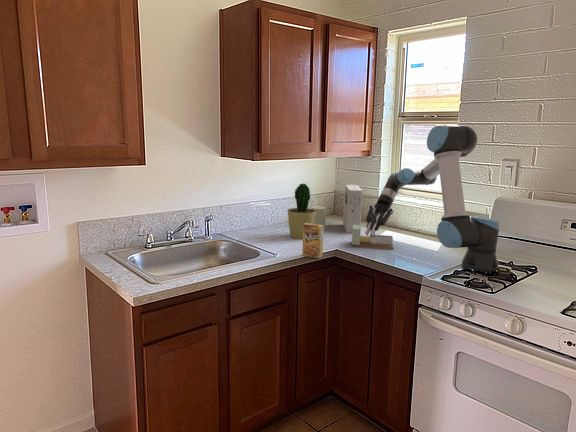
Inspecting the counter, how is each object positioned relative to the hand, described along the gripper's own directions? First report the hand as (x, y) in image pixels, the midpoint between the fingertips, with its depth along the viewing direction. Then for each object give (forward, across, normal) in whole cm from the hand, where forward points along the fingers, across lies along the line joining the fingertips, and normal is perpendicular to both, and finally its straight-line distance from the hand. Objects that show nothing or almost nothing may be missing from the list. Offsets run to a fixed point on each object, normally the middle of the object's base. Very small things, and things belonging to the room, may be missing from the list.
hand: (369, 234), depth 231 cm
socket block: (+4, +7, -4) cm, 9 cm away
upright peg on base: (+2, +3, -5) cm, 6 cm away
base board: (+2, 0, -8) cm, 8 cm away
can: (-9, +46, -19) cm, 50 cm away
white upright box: (-15, +27, -25) cm, 40 cm away
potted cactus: (+11, +37, +1) cm, 39 cm away
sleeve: (-1, -4, -8) cm, 9 cm away
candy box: (+29, +11, +19) cm, 36 cm away
